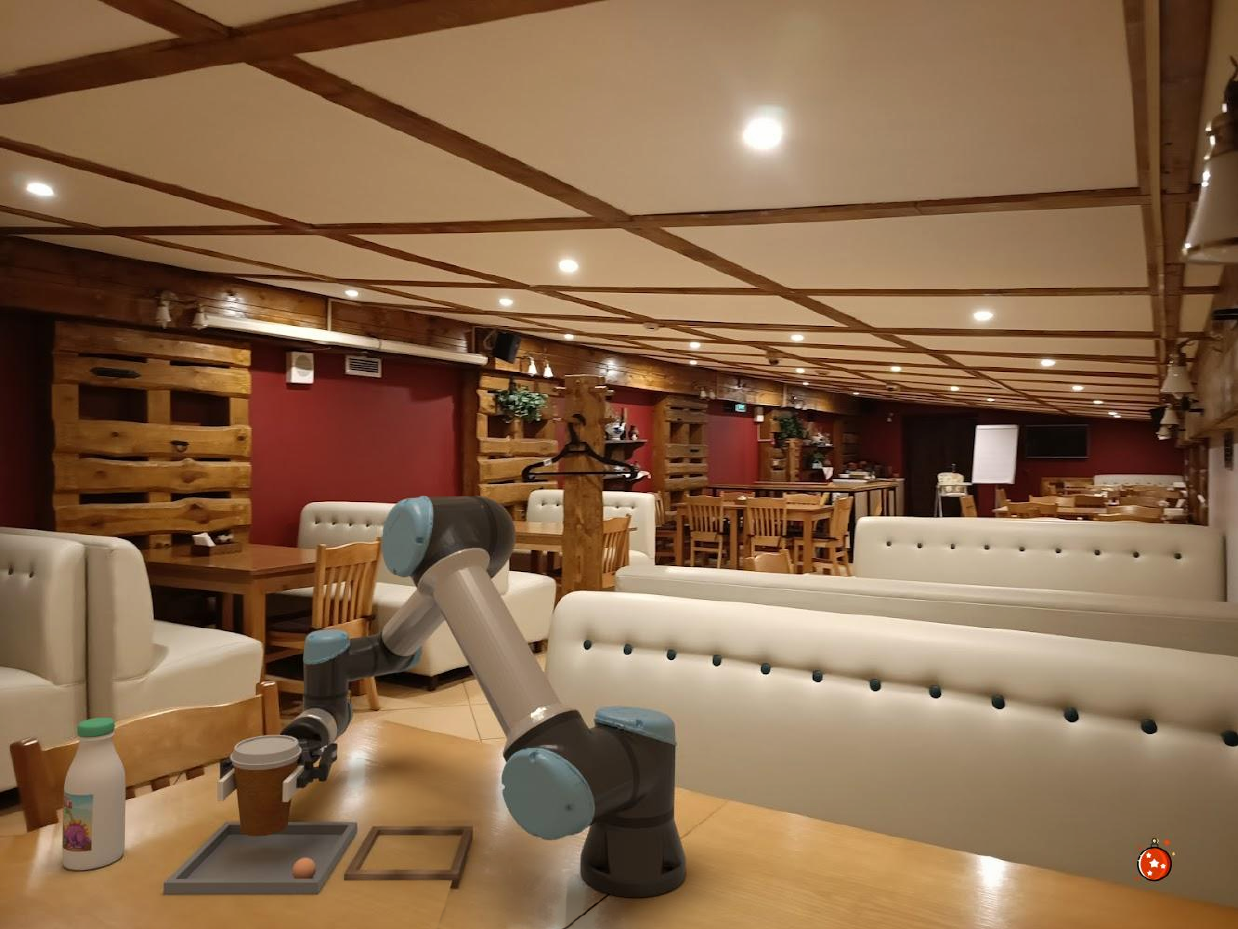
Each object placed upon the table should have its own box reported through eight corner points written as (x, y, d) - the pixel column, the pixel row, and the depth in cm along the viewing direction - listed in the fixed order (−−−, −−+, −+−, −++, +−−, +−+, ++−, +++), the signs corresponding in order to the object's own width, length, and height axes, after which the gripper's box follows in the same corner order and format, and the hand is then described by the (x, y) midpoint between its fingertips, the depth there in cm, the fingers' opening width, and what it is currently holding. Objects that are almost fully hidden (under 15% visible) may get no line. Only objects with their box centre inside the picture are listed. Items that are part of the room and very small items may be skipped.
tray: (356, 839, 131) (357, 822, 131) (317, 903, 112) (318, 882, 112) (225, 839, 130) (225, 822, 130) (163, 903, 111) (163, 882, 111)
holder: (472, 839, 132) (472, 826, 132) (457, 888, 117) (457, 874, 117) (372, 839, 131) (372, 826, 131) (343, 888, 116) (344, 874, 116)
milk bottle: (116, 842, 129) (118, 710, 129) (131, 860, 123) (133, 722, 123) (56, 858, 123) (58, 720, 123) (69, 877, 118) (71, 733, 118)
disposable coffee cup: (274, 845, 117) (276, 758, 117) (213, 837, 119) (215, 752, 119) (312, 817, 127) (314, 737, 127) (255, 810, 129) (257, 731, 129)
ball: (318, 875, 117) (318, 853, 117) (311, 886, 114) (311, 864, 114) (296, 875, 117) (296, 853, 117) (288, 886, 114) (289, 864, 114)
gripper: (370, 761, 141) (328, 819, 119) (241, 760, 141) (175, 818, 118) (371, 716, 141) (330, 765, 119) (242, 715, 140) (176, 764, 118)
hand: (253, 791), depth 118 cm, fingers closed on disposable coffee cup, 8 cm apart
